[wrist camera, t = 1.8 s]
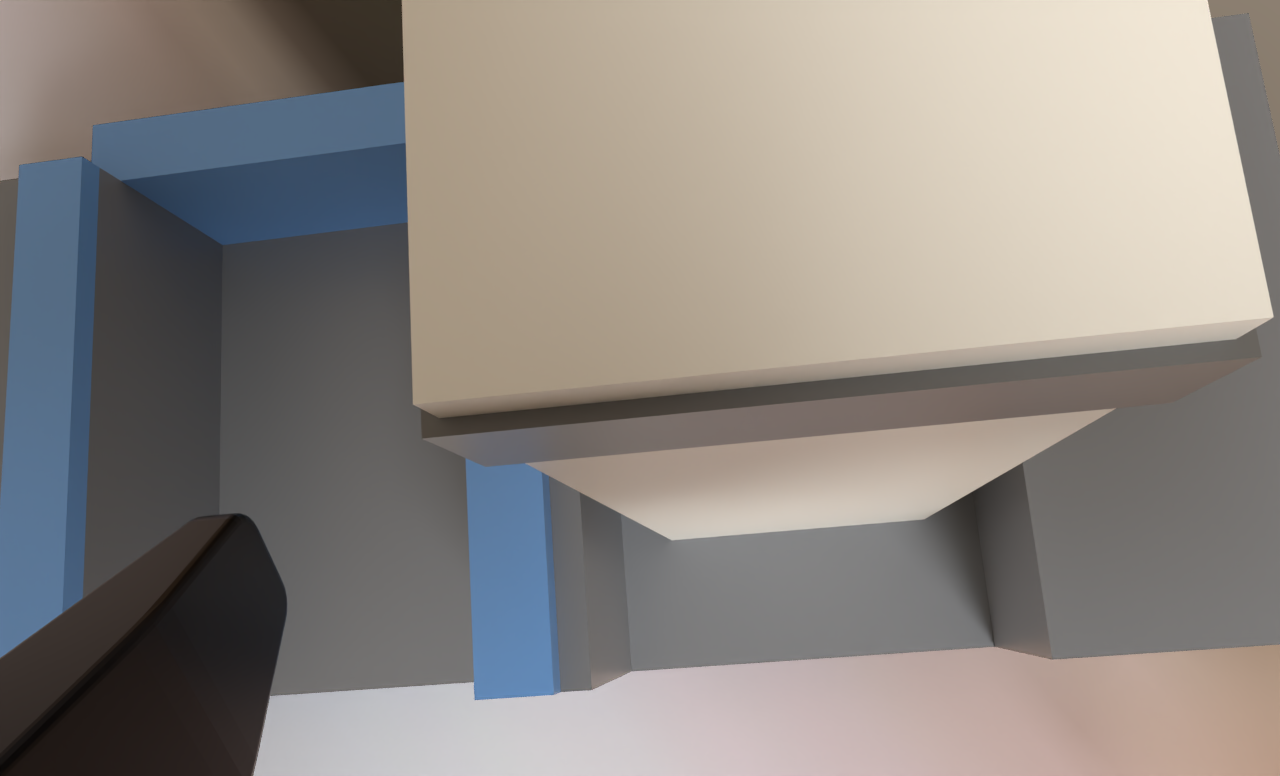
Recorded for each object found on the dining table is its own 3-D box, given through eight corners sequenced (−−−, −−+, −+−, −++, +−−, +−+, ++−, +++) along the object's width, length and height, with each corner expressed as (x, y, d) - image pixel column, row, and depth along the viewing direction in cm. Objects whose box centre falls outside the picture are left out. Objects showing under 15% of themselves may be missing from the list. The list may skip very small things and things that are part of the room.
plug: (898, 270, 17) (1137, -432, 5) (931, 525, 16) (1303, 336, 5) (646, 298, 18) (376, -291, 6) (665, 546, 17) (393, 426, 5)
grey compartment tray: (1126, 103, 18) (1247, -74, 13) (1224, 627, 16) (1405, 639, 12) (74, 235, 21) (-141, 126, 16) (53, 707, 19) (-197, 744, 14)
